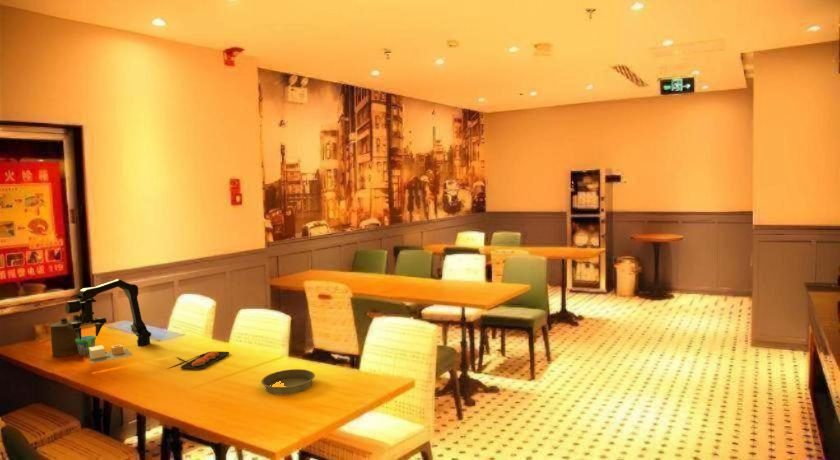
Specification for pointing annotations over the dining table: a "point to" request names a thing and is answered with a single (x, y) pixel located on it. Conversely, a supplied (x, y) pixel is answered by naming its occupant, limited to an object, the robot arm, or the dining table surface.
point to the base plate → (110, 356)
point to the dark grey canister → (63, 338)
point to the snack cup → (85, 344)
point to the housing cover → (96, 352)
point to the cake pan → (288, 381)
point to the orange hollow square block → (117, 349)
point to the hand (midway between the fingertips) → (88, 337)
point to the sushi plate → (202, 360)
